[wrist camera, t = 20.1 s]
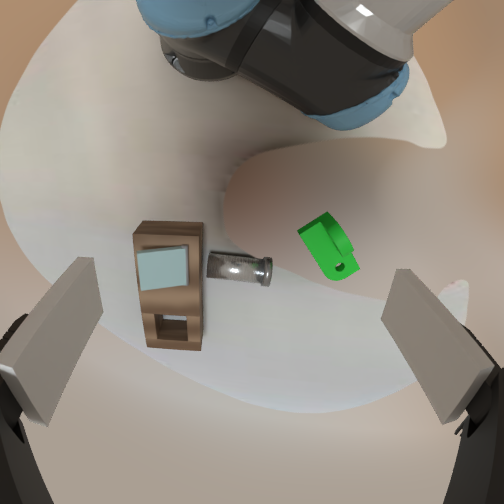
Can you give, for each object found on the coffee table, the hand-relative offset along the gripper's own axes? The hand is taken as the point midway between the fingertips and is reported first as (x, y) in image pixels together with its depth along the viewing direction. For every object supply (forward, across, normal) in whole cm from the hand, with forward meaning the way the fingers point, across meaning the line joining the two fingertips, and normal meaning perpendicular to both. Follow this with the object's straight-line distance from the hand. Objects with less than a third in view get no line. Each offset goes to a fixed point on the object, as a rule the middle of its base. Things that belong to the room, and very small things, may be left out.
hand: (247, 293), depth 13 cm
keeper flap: (+30, -7, -14) cm, 34 cm away
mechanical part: (+37, +17, -14) cm, 43 cm away
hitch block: (+37, -10, -21) cm, 43 cm away
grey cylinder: (+35, -4, -17) cm, 39 cm away
